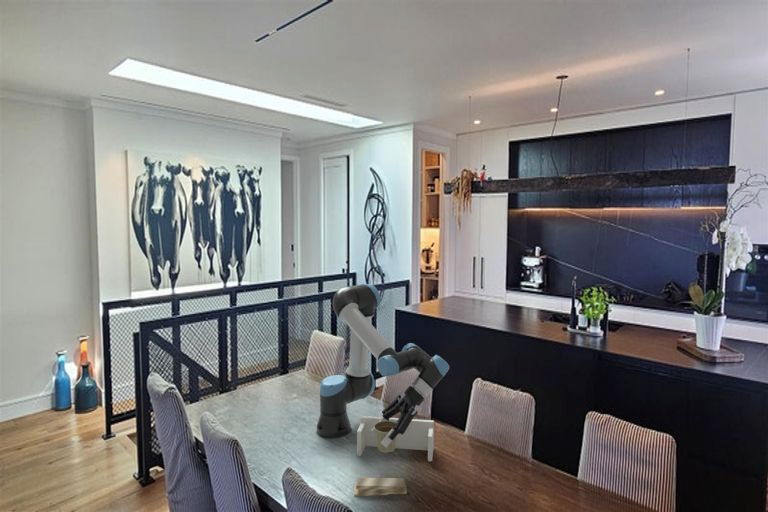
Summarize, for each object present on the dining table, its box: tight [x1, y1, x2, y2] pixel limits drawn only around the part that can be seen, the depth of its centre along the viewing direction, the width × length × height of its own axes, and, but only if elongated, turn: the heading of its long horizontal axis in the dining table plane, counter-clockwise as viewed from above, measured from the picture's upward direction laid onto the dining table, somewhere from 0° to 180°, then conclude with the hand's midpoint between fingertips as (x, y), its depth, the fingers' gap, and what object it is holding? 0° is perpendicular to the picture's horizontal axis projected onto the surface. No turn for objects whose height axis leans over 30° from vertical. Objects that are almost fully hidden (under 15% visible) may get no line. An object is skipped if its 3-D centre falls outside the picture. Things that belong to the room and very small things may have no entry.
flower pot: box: [374, 421, 397, 454], centre depth 167 cm, size 9×9×9 cm
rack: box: [356, 415, 435, 462], centre depth 180 cm, size 30×10×12 cm, turn 81°
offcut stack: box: [353, 477, 408, 497], centre depth 155 cm, size 18×7×4 cm, turn 94°
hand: (378, 438), depth 166 cm, fingers closed on flower pot, 9 cm apart
